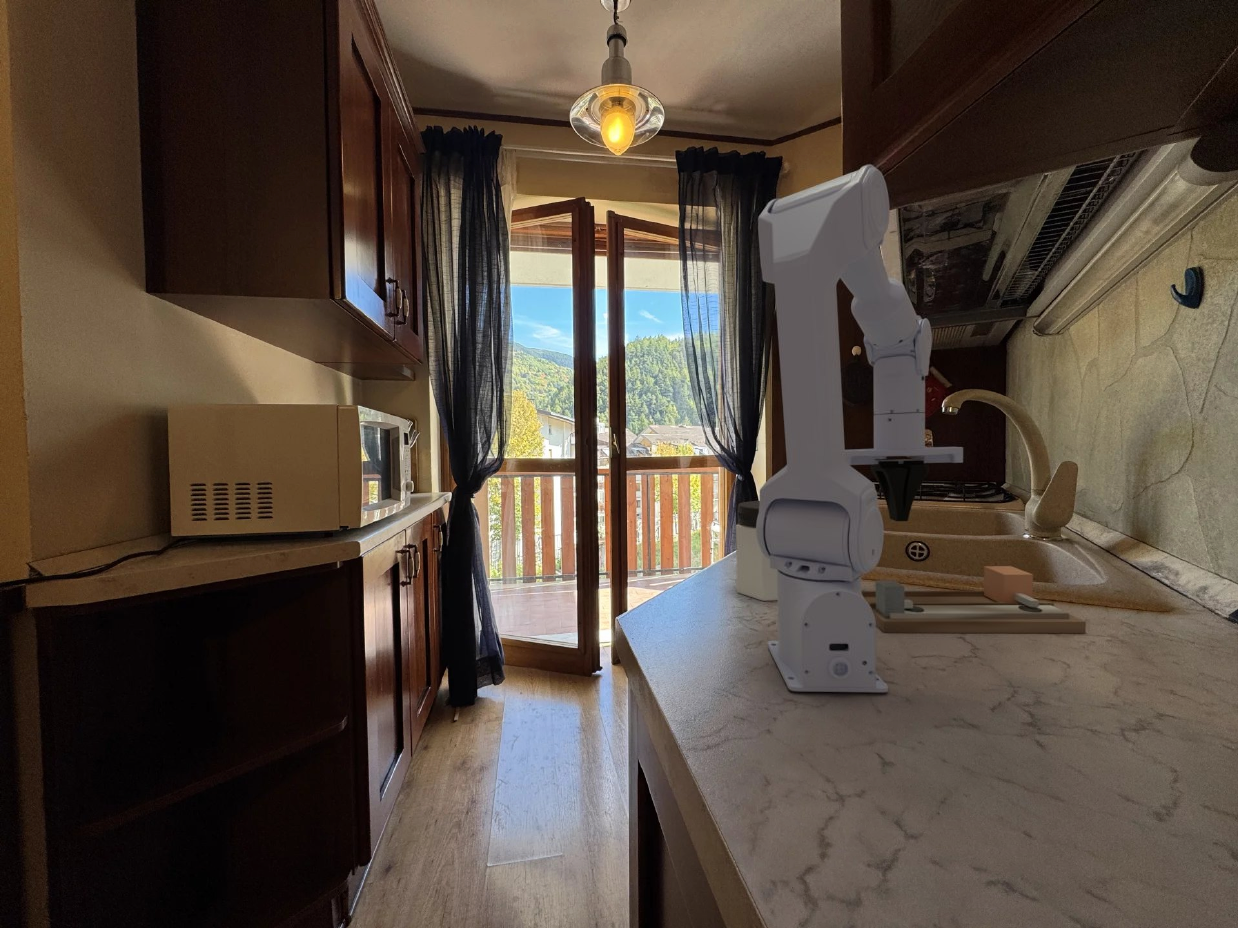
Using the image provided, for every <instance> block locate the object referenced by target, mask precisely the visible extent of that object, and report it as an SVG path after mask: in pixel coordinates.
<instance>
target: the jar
mask: <svg viewBox="0 0 1238 928" xmlns="http://www.w3.org/2000/svg"><path fill="white" fill-rule="evenodd" d="M759 505H760V500H752V501H751V500H750V501H745V502H740V503H738V505H737V512H736V513H737V514H736V515H737V524H735V538H736V540H735V543H736V544H735V545H736V550H735V551H736V591H737V593H738V594H741V595H744V596H746V597H750V598H753V599H756V600H759V601H762V602H770V601H771V602H772V601H778V585H777V569H773V568H770V559H769V558H767V557H766V556H765V555H764V554H763V552H762V551H761V548H760V546H759V544H758V541H757V535H756V524H757V517H758V514H759Z"/></svg>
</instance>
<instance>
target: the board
mask: <svg viewBox="0 0 1238 928" xmlns="http://www.w3.org/2000/svg"><path fill="white" fill-rule="evenodd" d="M861 592H862V595H863V597H864V599H865V600H866V602H867V603H868V604H869V606H870V607H871V609H872V611H873V613H874V616H875V621H876V627H877V628H878V630H880V631H882V632H883V633H901V634H902V633H904V634H905V633H907V634H908V633H916V634H917V633H920V634H922V633H929V634H930V633H932V634H933V633H934V634H936V633H938V634H939V633H940V634H941V633H943V634H947V633H949V634H950V633H951V634H952V633H953V634H955V633H956V634H957V633H958V634H960V633H962V634H963V633H964V634H967V633H968V634H971V633H973V634H974V633H976V634H988V633H989V634H1010V633H1011V634H1086V629H1087V627H1086V625H1087V622H1086V621H1085V620H1083V619H1080V618H1078V617H1076V616H1073V615H1071V614H1070V613H1069V612H1067V611H1065V610H1062V609H1061V608H1058V607H1056V606H1055V603H1054V602H1053V601H1051V602H1050V601H1049V602H1048V601H1047V602H1045V601H1039V600H1038V601H1039V607H1029V606H1027V605H1025V604H1023V603H1021V602H997V601H995V600H993V599H991V598H989V597H987V596H985V595H984V590H904V600H911V601H912V602H913V608H904V613H890V619H885V618H884V617H883V616H881V615H880V614H879V613H878V612H877V611H876V590H861Z"/></svg>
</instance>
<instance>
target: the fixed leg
mask: <svg viewBox="0 0 1238 928" xmlns="http://www.w3.org/2000/svg"><path fill="white" fill-rule="evenodd" d="M875 591H876V611H877V612H878V613H879V614H880V615H881V616H883V617H884V618H885V619H890V613H904V608H913V602H912V601H911V600H904V591H905V586H904V585H903V584H901V583H899V582H898V581H896V580H893V579H892V580H889V579H888V580H887V579H886V580H884V579H883V580H882V579H881V580H877V579H876V580H875Z"/></svg>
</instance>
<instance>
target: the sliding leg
mask: <svg viewBox="0 0 1238 928" xmlns="http://www.w3.org/2000/svg"><path fill="white" fill-rule="evenodd" d="M983 568H984V569H983V572H984V573H983V574H984V575H983V582H984V583H983V591H984V595H985V596H987V597H989V598H991V599H993V600H995V601H997V602H1021V603H1023V604H1025V605H1027V606H1029V607H1039V600H1038V599H1035V598H1034V597H1033V594H1034V590H1033V589H1034V587H1033V586H1034V574H1033V573H1031V572H1030V573H1029V572H1028V571H1024V570H1022V569H1019V568H1017V567H1014V566H1011V565H1006V566H1005V565H1003V566H1002V565H1000V566H997V565H994V566H989V565H988V566H983Z"/></svg>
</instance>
